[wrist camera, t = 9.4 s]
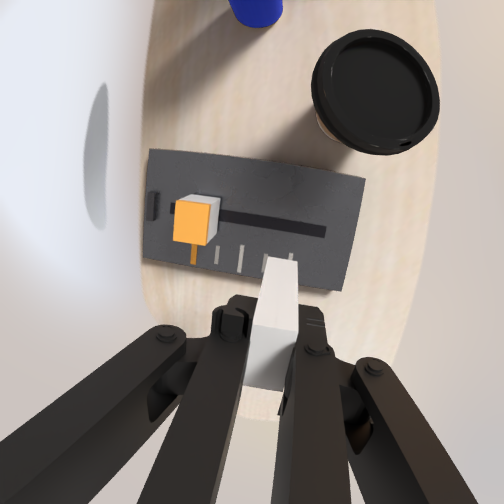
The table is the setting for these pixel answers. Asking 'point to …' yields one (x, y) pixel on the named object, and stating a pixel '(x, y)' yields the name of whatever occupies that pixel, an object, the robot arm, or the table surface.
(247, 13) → the beverage can
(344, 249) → the panel
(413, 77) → the coffee cup
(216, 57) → the table surface
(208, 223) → the fader tab
